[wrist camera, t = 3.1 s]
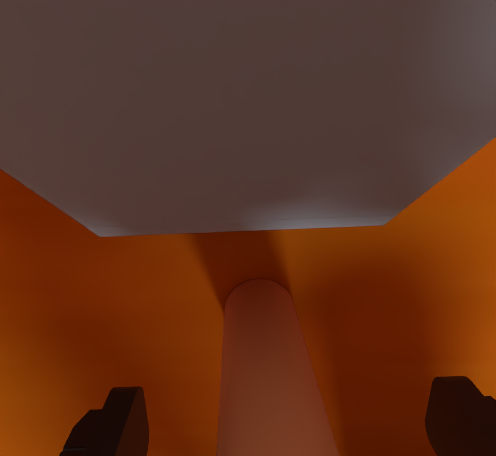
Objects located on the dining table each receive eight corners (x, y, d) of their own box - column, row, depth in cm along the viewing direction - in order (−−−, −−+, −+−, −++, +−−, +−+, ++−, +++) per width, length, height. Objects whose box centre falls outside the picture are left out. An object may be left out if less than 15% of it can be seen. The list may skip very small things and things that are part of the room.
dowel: (251, 351, 16) (292, 945, 5) (210, 304, 15) (134, 888, 4) (307, 315, 16) (505, 881, 4) (267, 265, 15) (374, 800, 3)
